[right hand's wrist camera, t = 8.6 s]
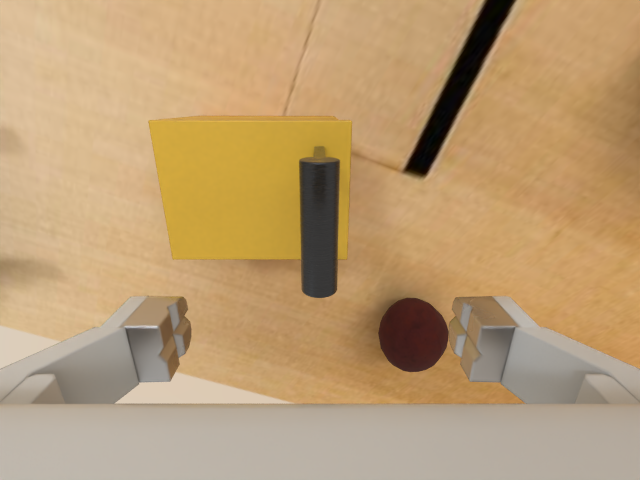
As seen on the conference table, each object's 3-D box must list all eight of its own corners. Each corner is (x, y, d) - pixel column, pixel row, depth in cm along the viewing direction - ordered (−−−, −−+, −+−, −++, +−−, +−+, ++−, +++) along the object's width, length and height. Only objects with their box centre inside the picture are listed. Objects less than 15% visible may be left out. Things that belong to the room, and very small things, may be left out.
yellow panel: (350, 120, 24) (368, 128, 15) (346, 253, 27) (358, 321, 19) (155, 119, 24) (61, 128, 15) (178, 253, 27) (113, 321, 19)
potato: (376, 345, 42) (387, 390, 35) (371, 290, 39) (381, 328, 32) (437, 338, 41) (459, 382, 35) (436, 282, 38) (460, 318, 32)
